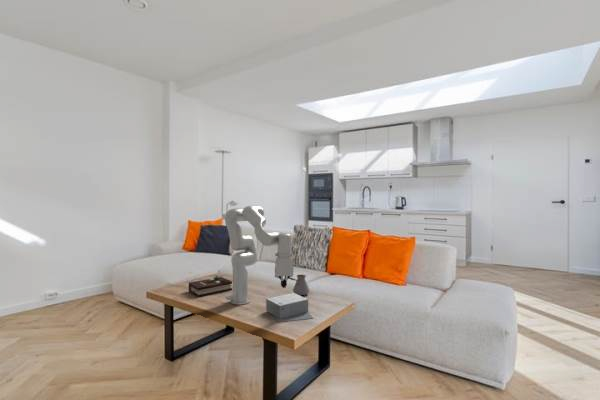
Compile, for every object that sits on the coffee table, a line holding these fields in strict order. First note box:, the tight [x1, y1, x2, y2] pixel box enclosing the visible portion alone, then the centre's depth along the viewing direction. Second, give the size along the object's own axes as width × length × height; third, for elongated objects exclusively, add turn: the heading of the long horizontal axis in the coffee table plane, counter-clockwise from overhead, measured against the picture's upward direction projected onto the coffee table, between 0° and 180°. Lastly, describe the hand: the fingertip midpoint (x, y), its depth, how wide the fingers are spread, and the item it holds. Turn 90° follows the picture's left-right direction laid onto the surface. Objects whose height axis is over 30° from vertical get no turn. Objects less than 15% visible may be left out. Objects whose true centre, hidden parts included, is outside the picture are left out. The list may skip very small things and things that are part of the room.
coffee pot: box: [288, 274, 310, 296], centre depth 212 cm, size 21×12×15 cm, turn 141°
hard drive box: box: [265, 292, 309, 319], centre depth 182 cm, size 16×8×20 cm
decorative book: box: [188, 275, 233, 298], centre depth 223 cm, size 19×8×30 cm
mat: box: [274, 311, 314, 323], centre depth 178 cm, size 20×18×1 cm
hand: (283, 287), depth 177 cm, fingers closed
